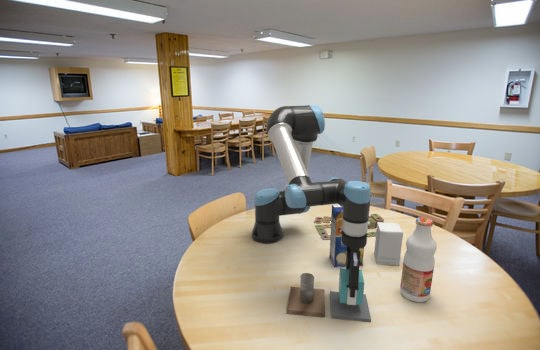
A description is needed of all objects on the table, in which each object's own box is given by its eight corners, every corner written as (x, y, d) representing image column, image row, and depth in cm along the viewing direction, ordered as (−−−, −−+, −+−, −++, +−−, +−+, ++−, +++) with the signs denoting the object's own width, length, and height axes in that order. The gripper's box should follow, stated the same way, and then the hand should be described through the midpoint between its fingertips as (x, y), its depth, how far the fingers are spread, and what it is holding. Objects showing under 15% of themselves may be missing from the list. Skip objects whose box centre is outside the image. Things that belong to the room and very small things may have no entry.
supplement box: (399, 266, 123) (403, 232, 119) (376, 264, 125) (379, 230, 121) (395, 255, 132) (399, 223, 128) (373, 253, 133) (376, 221, 129)
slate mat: (331, 318, 96) (331, 315, 96) (330, 293, 107) (330, 291, 107) (371, 322, 94) (371, 319, 94) (365, 296, 105) (365, 294, 105)
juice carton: (356, 256, 131) (360, 203, 125) (362, 265, 124) (367, 210, 117) (329, 257, 130) (331, 204, 124) (333, 267, 123) (336, 211, 117)
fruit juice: (398, 283, 112) (407, 213, 105) (426, 288, 110) (437, 216, 102) (401, 300, 104) (410, 224, 96) (431, 305, 101) (443, 228, 93)
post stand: (286, 313, 98) (287, 286, 95) (290, 290, 109) (290, 265, 107) (324, 317, 96) (326, 290, 93) (324, 293, 108) (325, 268, 105)
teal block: (362, 305, 96) (364, 282, 93) (339, 302, 97) (340, 280, 95) (360, 291, 102) (361, 269, 100) (338, 289, 103) (339, 268, 101)
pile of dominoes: (367, 214, 175) (368, 205, 174) (391, 236, 149) (392, 226, 148) (308, 218, 171) (308, 209, 170) (322, 241, 145) (323, 231, 144)
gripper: (372, 248, 83) (366, 319, 89) (362, 219, 102) (358, 279, 108) (344, 246, 84) (340, 316, 91) (340, 218, 103) (336, 277, 110)
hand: (350, 296), depth 99 cm, fingers closed on teal block, 7 cm apart
